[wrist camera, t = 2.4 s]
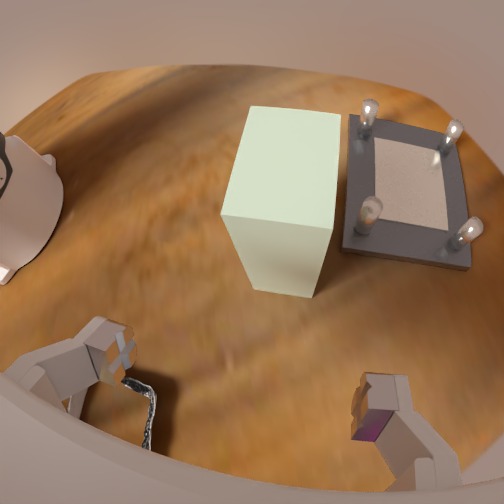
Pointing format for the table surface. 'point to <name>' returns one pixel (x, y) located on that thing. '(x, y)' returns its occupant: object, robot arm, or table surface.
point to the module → (284, 197)
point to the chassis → (406, 193)
